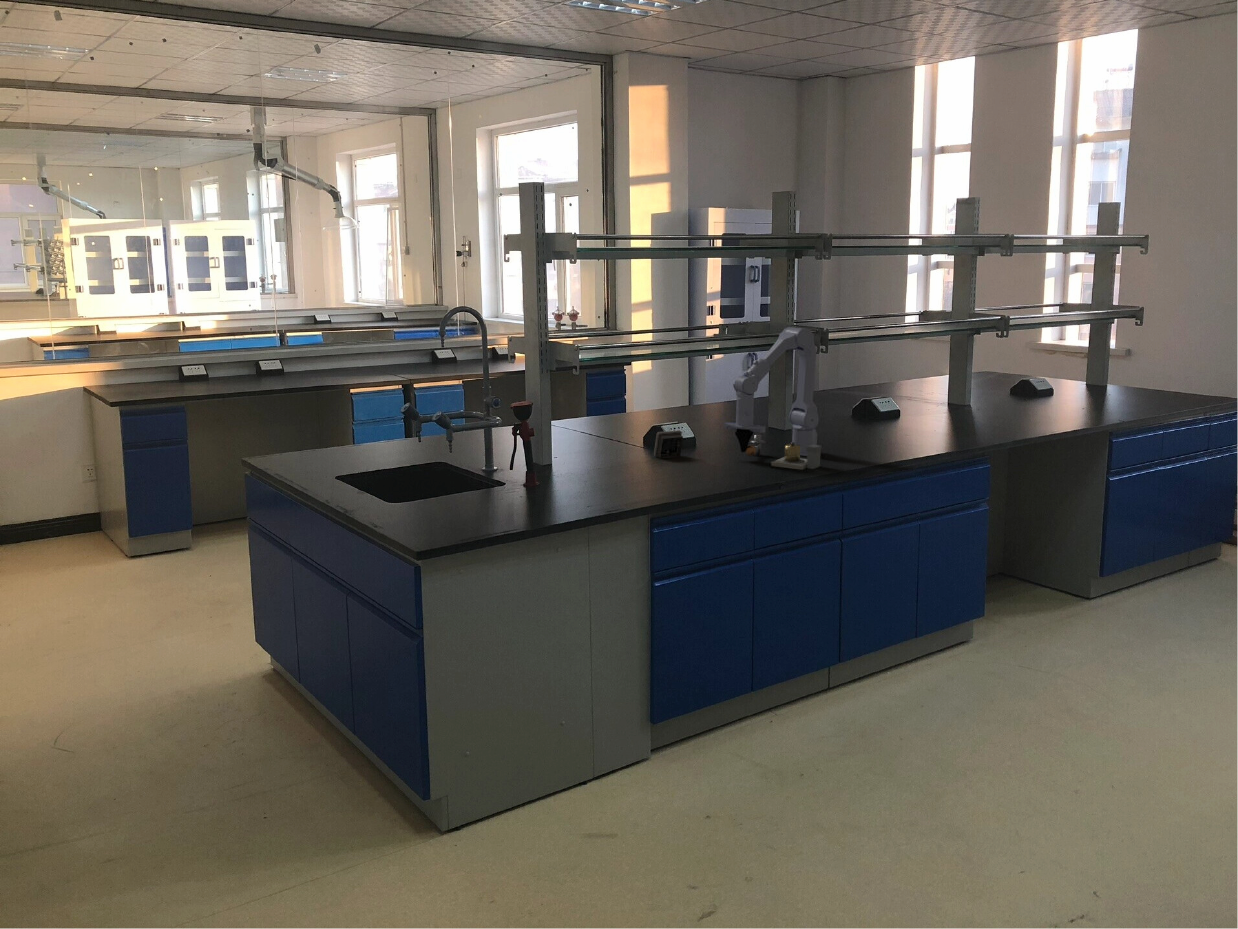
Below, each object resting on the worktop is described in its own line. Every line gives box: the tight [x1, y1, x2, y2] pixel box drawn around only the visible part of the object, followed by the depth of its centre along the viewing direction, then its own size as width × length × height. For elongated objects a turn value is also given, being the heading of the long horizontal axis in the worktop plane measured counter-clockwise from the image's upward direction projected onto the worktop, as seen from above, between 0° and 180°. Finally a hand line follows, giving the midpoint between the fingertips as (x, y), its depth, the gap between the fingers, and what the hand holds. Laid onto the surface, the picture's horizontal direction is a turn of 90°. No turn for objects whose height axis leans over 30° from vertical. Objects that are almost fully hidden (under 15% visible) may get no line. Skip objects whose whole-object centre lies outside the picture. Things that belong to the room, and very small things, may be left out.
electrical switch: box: [653, 429, 684, 459], centre depth 348 cm, size 9×5×9 cm, turn 113°
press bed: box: [770, 444, 822, 471], centre depth 335 cm, size 11×14×7 cm
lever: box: [744, 444, 759, 457], centre depth 345 cm, size 10×4×4 cm, turn 159°
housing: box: [784, 441, 801, 462], centre depth 336 cm, size 5×5×6 cm
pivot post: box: [749, 434, 766, 457], centre depth 351 cm, size 5×5×7 cm
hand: (743, 451), depth 343 cm, fingers closed
